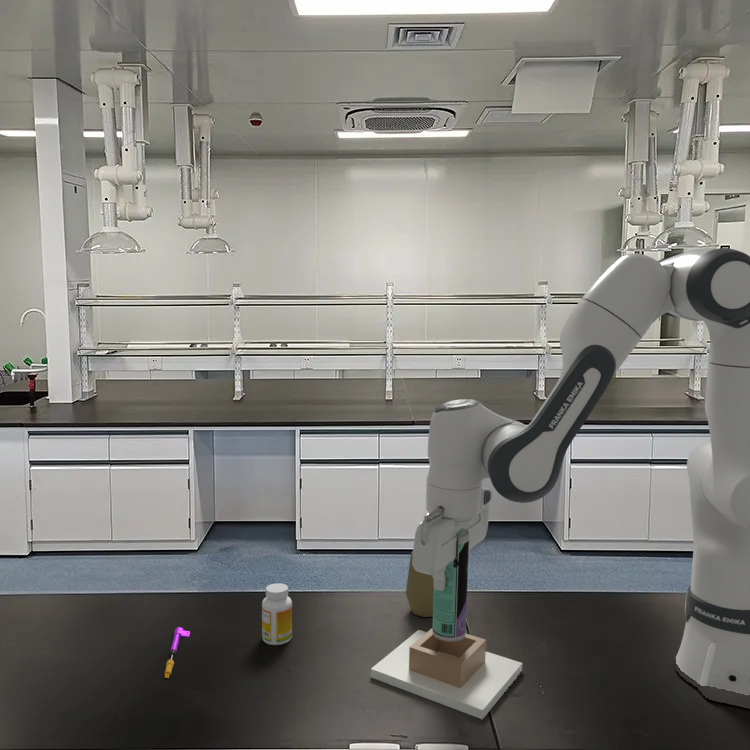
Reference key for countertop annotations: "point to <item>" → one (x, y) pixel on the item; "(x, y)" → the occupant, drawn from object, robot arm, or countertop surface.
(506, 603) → the countertop surface
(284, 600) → the supplement bottle
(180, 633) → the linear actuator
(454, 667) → the socket board
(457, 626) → the spray can
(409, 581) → the squeeze bottle
